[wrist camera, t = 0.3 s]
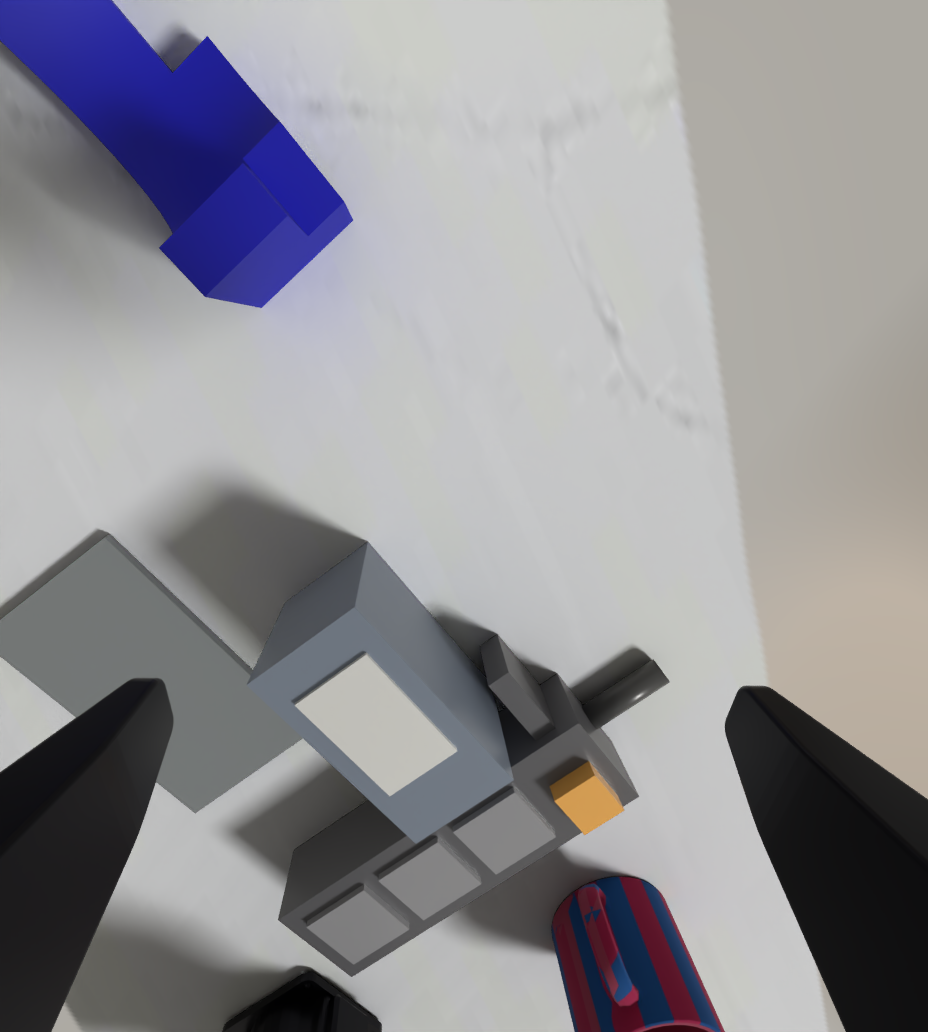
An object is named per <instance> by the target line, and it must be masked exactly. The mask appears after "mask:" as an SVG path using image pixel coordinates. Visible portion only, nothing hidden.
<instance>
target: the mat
mask: <svg viewBox="0 0 928 1032" xmlns="http://www.w3.org/2000/svg"><path fill="white" fill-rule="evenodd" d="M0 657H2V658H3V659H4V660H5V661H7V662H8V663H9V664H10V665H12V666H13V667H14V668H15V669H17V670H18V671H19V672H20V673H22V674H23V675H24V676H25V677H27V678H28V679H29V680H30V681H31V682H33V683H34V684H35V685H36V686H38V687H39V688H40V689H41V690H43V691H44V692H45V693H46V694H48V695H49V696H50V697H51V698H53V699H54V700H55V701H56V702H58V703H59V704H60V705H61V706H63V707H64V708H65V709H66V710H68V711H69V712H70V713H71V714H72V715H74V716H75V717H78V716H79V715H81V714H82V713H83V712H85V711H86V710H88V709H89V708H90V707H92V706H93V705H95V704H96V703H97V702H99V701H100V700H101V699H103V698H104V697H106V696H107V695H108V694H110V693H111V692H113V691H114V690H115V689H117V688H118V687H120V686H121V685H122V684H124V683H125V682H127V681H128V680H130V679H132V678H160V679H162V680H163V681H164V683H165V685H166V689H167V693H168V696H169V700H170V704H171V708H172V712H173V716H174V725H173V730H172V734H171V737H170V740H169V743H168V746H167V749H166V752H165V755H164V758H163V762H162V765H161V768H160V771H159V774H158V777H157V780H156V782H157V783H158V784H159V785H161V786H162V787H163V788H164V789H166V790H167V791H168V792H169V793H171V794H172V795H173V796H174V797H176V798H177V799H178V800H179V801H180V802H182V803H183V804H184V805H185V806H187V807H188V808H189V809H190V810H192V811H193V812H194V813H196V812H198V811H199V810H201V809H202V808H204V807H205V806H206V805H208V804H209V803H211V802H212V801H214V800H215V799H216V798H218V797H219V796H221V795H222V794H224V793H225V792H226V791H228V790H229V789H231V788H232V787H234V786H235V785H237V784H238V783H239V782H241V781H242V780H244V779H245V778H247V777H248V776H249V775H251V774H252V773H254V772H255V771H257V770H258V769H259V768H261V767H262V766H264V765H265V764H267V763H268V762H269V761H271V760H272V759H274V758H275V757H277V756H278V755H280V754H281V753H282V752H284V751H285V750H287V749H288V748H290V747H291V746H292V745H294V744H295V743H297V742H298V741H300V740H301V739H302V737H301V736H300V735H299V734H298V733H297V732H296V731H295V730H294V729H293V728H292V727H290V726H289V725H288V724H287V723H286V722H285V721H284V720H283V719H282V718H281V717H280V716H279V715H278V714H277V713H276V712H274V711H273V710H272V709H271V708H270V707H269V706H268V705H267V704H266V703H265V702H264V701H263V700H262V699H261V698H260V697H258V696H257V695H256V694H255V693H254V692H253V691H252V690H251V689H250V688H249V687H248V686H247V683H248V681H249V679H250V676H251V674H252V672H253V670H252V669H251V668H250V667H249V666H248V665H247V664H246V663H245V662H244V661H243V660H241V659H240V658H239V657H238V656H237V655H236V654H235V653H234V652H233V651H232V650H231V649H230V648H229V647H228V646H227V645H226V644H225V643H224V642H223V641H222V640H220V639H219V638H218V637H217V636H216V635H215V634H214V633H213V632H212V631H211V630H210V629H209V628H208V627H207V626H206V625H205V624H204V623H203V622H202V621H201V620H199V619H198V618H197V617H196V616H195V615H194V614H193V613H192V612H191V611H190V610H189V609H188V608H187V607H186V606H185V605H184V604H183V603H182V602H181V601H180V600H178V599H177V598H176V597H175V596H174V595H173V594H172V593H171V592H170V591H169V590H168V589H167V588H166V587H165V586H164V585H163V584H162V583H161V582H160V581H159V580H157V579H156V578H155V577H154V576H153V575H152V574H151V573H150V572H149V571H148V570H147V569H146V568H145V567H144V566H143V565H142V564H141V563H140V562H139V561H138V560H136V559H135V558H134V557H133V556H132V555H131V554H130V553H129V552H128V551H127V550H126V549H125V548H124V547H123V546H122V545H121V544H120V543H119V542H118V541H117V540H115V539H114V538H113V537H112V536H111V535H110V534H109V535H107V536H106V537H104V538H103V539H102V540H101V541H99V542H98V543H97V544H96V545H94V546H93V547H92V548H91V549H89V550H88V551H87V552H85V553H84V554H83V555H82V556H80V557H79V558H78V559H77V560H75V561H74V562H73V563H72V564H70V565H69V566H68V567H66V568H65V569H64V570H63V571H61V572H60V573H59V574H58V575H56V576H55V577H54V578H53V579H51V580H50V581H49V582H47V583H46V584H45V585H44V586H42V587H41V588H40V589H39V590H37V591H36V592H35V593H34V594H32V595H31V596H30V597H28V598H27V599H26V600H25V601H23V602H22V603H21V604H20V605H18V606H17V607H16V608H15V609H13V610H12V611H11V612H10V613H8V614H7V615H6V616H4V617H3V618H2V619H1V620H0Z"/></svg>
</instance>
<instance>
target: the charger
mask: <svg viewBox="0 0 928 1032" xmlns="http://www.w3.org/2000/svg"><path fill="white" fill-rule="evenodd" d="M247 686H248V687H249V688H250V689H251V690H252V691H253V692H254V693H255V694H256V695H257V696H258V697H260V698H261V699H262V700H263V701H264V702H265V703H266V704H267V705H268V706H269V707H270V708H271V709H272V710H273V711H274V712H276V713H277V714H278V715H279V716H280V717H281V718H282V719H283V720H284V721H285V722H286V723H287V724H288V725H289V726H290V727H292V728H293V729H294V730H295V731H296V732H297V733H298V734H299V735H300V736H301V737H302V738H303V739H304V740H305V741H306V742H308V743H309V744H310V745H311V746H312V747H313V748H314V749H315V750H316V751H317V752H318V753H319V754H320V755H321V756H323V757H324V758H325V759H326V760H327V761H328V762H329V763H330V764H331V765H332V766H333V767H334V768H335V769H336V770H337V771H339V772H340V773H341V774H342V775H343V776H344V777H345V778H346V779H347V780H348V781H349V782H350V783H351V784H352V785H353V786H355V787H356V788H357V789H358V790H359V791H360V792H361V793H362V794H363V795H364V796H365V797H366V798H367V799H368V800H369V801H371V802H372V803H373V804H374V805H375V806H376V807H377V808H378V809H379V810H380V811H381V812H382V813H383V814H384V815H386V816H387V817H388V818H389V819H390V820H391V821H392V822H393V823H394V824H395V825H396V826H397V827H398V828H399V829H400V830H402V831H403V832H404V833H405V834H406V835H407V836H408V837H409V838H410V839H411V840H412V841H413V842H414V843H415V844H417V843H418V842H420V841H421V840H423V839H424V838H426V837H427V836H429V835H430V834H432V833H433V832H435V831H437V830H438V829H440V828H441V827H443V826H444V825H446V824H447V823H449V822H450V821H452V820H453V819H455V818H456V817H458V816H460V815H461V814H463V813H464V812H466V811H467V810H469V809H470V808H472V807H473V806H475V805H476V804H478V803H479V802H481V801H483V800H484V799H486V798H487V797H489V796H490V795H492V794H493V793H495V792H496V791H498V790H499V789H501V788H502V787H504V786H506V785H507V784H509V783H510V782H512V781H513V780H514V779H513V774H512V770H511V766H510V762H509V757H508V753H507V749H506V745H505V740H504V736H503V732H502V728H501V723H500V719H499V715H498V711H497V706H496V702H495V698H494V694H493V691H492V690H491V688H490V687H489V686H488V682H487V679H486V677H485V676H484V675H483V674H482V673H481V672H480V670H479V669H478V668H477V667H476V666H475V665H474V664H473V662H472V661H471V660H470V659H469V658H468V657H467V655H466V654H465V653H464V652H463V651H462V650H461V649H460V647H459V646H458V645H457V644H456V643H455V642H454V640H453V639H452V638H451V637H450V636H449V635H448V633H447V632H446V631H445V630H444V629H443V628H442V627H441V625H440V624H439V623H438V622H437V621H436V620H435V618H434V617H433V616H432V615H431V614H430V613H429V612H428V610H427V609H426V608H425V607H424V606H423V605H422V603H421V602H420V601H419V600H418V599H417V598H416V596H415V595H414V594H413V593H412V592H411V591H410V590H409V588H408V587H407V586H406V585H405V584H404V583H403V581H402V580H401V579H400V578H399V577H398V576H397V575H396V573H395V572H394V571H393V570H392V569H391V568H390V566H389V565H388V564H387V563H386V562H385V561H384V559H383V558H382V557H381V556H380V555H379V554H378V553H377V551H376V550H375V549H374V548H373V547H372V546H371V544H370V543H369V542H367V543H366V544H364V545H363V546H361V547H360V548H359V549H357V550H356V551H355V552H353V553H352V554H351V555H349V556H348V557H347V558H345V559H344V560H342V561H341V562H340V563H338V564H337V565H336V566H334V567H333V568H332V569H330V570H329V571H328V572H326V573H325V574H323V575H322V576H321V577H319V578H318V579H317V580H315V581H314V582H313V583H311V584H310V585H308V586H307V587H306V588H304V589H303V590H302V591H300V592H299V593H298V594H296V595H295V596H294V597H292V598H291V599H289V600H288V601H287V602H285V604H284V606H283V608H282V610H281V613H280V615H279V617H278V619H277V621H276V623H275V625H274V627H273V630H272V632H271V634H270V636H269V638H268V640H267V642H266V644H265V647H264V649H263V651H262V653H261V655H260V657H259V659H258V661H257V664H256V666H255V668H254V670H253V672H252V674H251V676H250V679H249V681H248V683H247Z"/></svg>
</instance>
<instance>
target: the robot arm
mask: <svg viewBox="0 0 928 1032" xmlns="http://www.w3.org/2000/svg"><path fill="white" fill-rule="evenodd" d="M173 725H174V716H173V712H172V708H171V704H170V700H169V696H168V693H167V689H166V685H165V683H164V681H163V680H162V679H160V678H132V679H130V680H128V681H127V682H125V683H124V684H122V685H121V686H120V687H118V688H117V689H115V690H114V691H113V692H111V693H110V694H108V695H107V696H106V697H104V698H103V699H101V700H100V701H99V702H97V703H96V704H95V705H93V706H92V707H90V708H89V709H88V710H86V711H85V712H83V713H82V714H81V715H79V716H78V717H76V718H75V719H74V720H72V721H71V722H69V723H68V724H67V725H65V726H64V727H62V728H61V729H60V730H58V731H57V732H56V733H54V734H53V735H51V736H50V737H49V738H47V739H46V740H44V741H43V742H42V743H40V744H39V745H37V746H36V747H35V748H33V749H32V750H30V751H29V752H28V753H26V754H25V755H23V756H22V757H21V758H19V759H18V760H17V761H15V762H14V763H12V764H11V765H10V766H8V767H7V768H5V769H4V770H3V771H1V772H0V1032H51V1031H52V1029H53V1027H54V1024H55V1022H56V1020H57V1018H58V1015H59V1013H60V1011H61V1008H62V1006H63V1004H64V1002H65V1000H66V997H67V995H68V993H69V991H70V988H71V986H72V984H73V981H74V979H75V977H76V975H77V972H78V970H79V968H80V966H81V963H82V961H83V959H84V957H85V954H86V952H87V950H88V948H89V945H90V943H91V941H92V939H93V936H94V934H95V932H96V930H97V927H98V925H99V923H100V921H101V918H102V916H103V914H104V912H105V909H106V907H107V905H108V903H109V900H110V898H111V896H112V894H113V891H114V889H115V887H116V885H117V882H118V880H119V878H120V876H121V873H122V871H123V869H124V867H125V864H126V862H127V860H128V857H129V855H130V853H131V851H132V848H133V846H134V843H135V841H136V839H137V836H138V834H139V831H140V828H141V825H142V822H143V820H144V817H145V814H146V811H147V808H148V804H149V801H150V798H151V795H152V792H153V789H154V786H155V783H156V780H157V777H158V774H159V771H160V768H161V765H162V762H163V758H164V755H165V752H166V749H167V746H168V743H169V740H170V737H171V734H172V730H173ZM725 732H726V737H727V740H728V743H729V746H730V749H731V752H732V755H733V758H734V761H735V764H736V767H737V771H738V774H739V777H740V780H741V783H742V786H743V789H744V792H745V795H746V798H747V801H748V804H749V807H750V810H751V813H752V816H753V819H754V821H755V824H756V827H757V830H758V832H759V835H760V837H761V839H762V842H763V844H764V847H765V849H766V851H767V853H768V856H769V858H770V860H771V863H772V865H773V867H774V869H775V872H776V874H777V876H778V879H779V881H780V883H781V885H782V888H783V890H784V892H785V894H786V897H787V899H788V901H789V904H790V906H791V908H792V910H793V913H794V915H795V917H796V919H797V922H798V924H799V926H800V929H801V931H802V933H803V935H804V938H805V940H806V942H807V944H808V947H809V949H810V951H811V954H812V956H813V958H814V960H815V963H816V965H817V967H818V970H819V972H820V974H821V976H822V978H823V981H824V983H825V985H826V988H827V990H828V992H829V995H830V997H831V999H832V1001H833V1004H834V1006H835V1008H836V1010H837V1012H838V1015H839V1017H840V1020H841V1022H842V1024H843V1026H844V1029H845V1031H846V1032H928V799H927V798H925V797H924V796H922V795H921V794H920V793H918V792H917V791H915V790H914V789H912V788H911V787H909V786H908V785H907V784H905V783H904V782H903V781H901V780H900V779H898V778H897V777H895V776H894V775H893V774H891V773H890V772H888V771H887V770H885V769H884V768H883V767H881V766H880V765H879V764H877V763H876V762H874V761H873V760H871V759H870V758H869V757H867V756H866V755H865V754H863V753H862V752H860V751H859V750H857V749H856V748H855V747H853V746H852V745H850V744H849V743H848V742H846V741H845V740H843V739H842V738H841V737H839V736H838V735H836V734H835V733H834V732H832V731H830V730H829V729H828V728H826V727H825V726H823V725H822V724H821V723H819V722H818V721H816V720H815V719H814V718H812V717H811V716H810V715H808V714H807V713H805V712H804V711H802V710H801V709H800V708H798V707H797V706H795V705H794V704H793V703H791V702H790V701H788V700H787V699H786V698H784V697H783V696H781V695H780V694H778V693H777V692H776V691H774V690H773V689H771V688H769V687H766V686H742V687H741V688H740V689H739V690H738V692H737V694H736V696H735V699H734V701H733V704H732V706H731V708H730V711H729V713H728V716H727V718H726V722H725ZM222 1032H382V1024H381V1023H380V1022H379V1021H378V1020H377V1019H375V1018H374V1017H373V1016H371V1015H370V1014H369V1013H367V1012H366V1011H365V1010H363V1009H362V1008H361V1007H359V1006H358V1005H357V1004H355V1003H354V1002H353V1001H351V1000H350V999H349V998H347V997H346V996H345V995H343V994H342V993H341V992H339V991H338V990H337V989H335V988H334V987H333V986H331V985H330V984H329V983H328V982H326V981H325V980H324V979H322V978H321V977H320V976H318V975H317V974H315V973H313V972H307V973H304V974H302V975H301V976H299V977H297V978H296V979H294V980H293V981H291V982H290V983H288V984H286V985H285V986H283V987H282V988H280V989H279V990H277V991H275V992H274V993H272V994H271V995H269V996H268V997H266V998H264V999H263V1000H261V1001H260V1002H258V1003H257V1004H255V1005H253V1006H252V1007H250V1008H249V1009H247V1010H246V1011H244V1012H242V1013H241V1014H239V1015H238V1016H236V1017H235V1018H233V1019H231V1020H230V1021H228V1022H227V1023H226V1024H225V1025H224V1027H223V1031H222Z"/></svg>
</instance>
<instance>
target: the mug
mask: <svg viewBox="0 0 928 1032" xmlns="http://www.w3.org/2000/svg"><path fill="white" fill-rule="evenodd" d="M551 931H552V938H553V942H554V946H555V950H556V955H557V959H558V963H559V967H560V971H561V976H562V980H563V984H564V988H565V993H566V997H567V1001H568V1005H569V1009H570V1014H571V1018H572V1022H573V1026H574V1030H575V1032H725V1031H724V1029H723V1027H722V1025H721V1022H720V1020H719V1018H718V1016H717V1014H716V1011H715V1009H714V1007H713V1005H712V1003H711V1000H710V998H709V996H708V994H707V992H706V989H705V987H704V985H703V983H702V980H701V978H700V976H699V974H698V972H697V969H696V967H695V965H694V963H693V961H692V958H691V956H690V954H689V952H688V950H687V947H686V945H685V943H684V941H683V938H682V936H681V934H680V932H679V930H678V927H677V925H676V923H675V921H674V919H673V916H672V914H671V912H670V910H669V908H668V905H667V903H666V901H665V899H664V897H663V896H662V894H661V893H660V892H659V891H658V890H657V889H656V888H655V887H654V886H652V885H651V884H649V883H647V882H645V881H642V880H640V879H636V878H632V877H621V876H620V877H609V878H604V879H600V880H597V881H594V882H591V883H588V884H586V885H584V886H582V887H580V888H579V889H577V890H576V891H574V892H573V893H572V894H571V895H569V896H568V897H567V898H566V899H565V900H564V901H563V903H562V904H561V905H560V906H559V908H558V910H557V912H556V913H555V916H554V919H553V922H552V929H551Z"/></svg>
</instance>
